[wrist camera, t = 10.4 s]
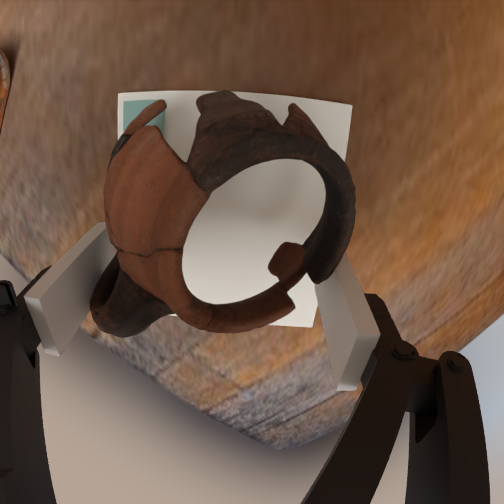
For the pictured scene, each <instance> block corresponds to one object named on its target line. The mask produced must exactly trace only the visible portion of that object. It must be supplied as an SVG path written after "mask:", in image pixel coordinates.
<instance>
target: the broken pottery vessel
mask: <svg viewBox="0 0 504 504" xmlns="http://www.w3.org/2000/svg"><path fill="white" fill-rule="evenodd" d="M196 105H197V108H198V110H199V112H200V114H201V115H200V117H199V119H198V121H197V125H196V132H195V138H194V141H193V144H192V147H191V152H190V154H189V157H188V160H187V162H184V161H183V160H182V159H181V158H180V157H179V156H178V155H177V153H176V152H175V151H174V150H173V149H172V148H171V147H170V145H169V144H168V143H167V141H166V140H165V139H164V137H163V134H162V132H161V130H160V128H159V127H158V126H156V125H152V126H151V125H146V124H147V123H149V122H150V121H151V120H152V119H154V118H155V117H156V116H158V115H159V114H160V113H162V112H163V111H164V110H165V109H166V108H167V104H166V102H165V101H164V100H163V99H159V100H157V101H155V102H153V103H152V104H150V105H149V106H147V107H146V108H144V109H143V110H142V111H141V112H140V113H139V114H138V116H137V117H136V118H135V119H134V120H132V121H131V122H130V123H129V125H128V126H127V128H126V130H125V132H124V133H123V134H122V135H121V136H120V138H119V140H118V141H117V143H116V145H115V147H114V149H113V151H112V155H111V159H110V162H109V166H108V170H107V176H106V181H105V187H104V197H105V199H104V208H105V219H106V227H107V232H108V236H109V240H110V242H111V244H112V245H114V246H115V247H116V248H117V250H118V251H117V253H116V255H115V256H114V257H113V259H112V260H111V261H110V263H109V264H108V266H107V267H106V269H105V270H104V272H103V273H102V275H101V277H100V278H99V281H98V282H97V284H96V287H95V289H94V291H93V294H92V297H91V299H90V310H91V313H92V318H93V320H94V322H95V323H96V324H97V326H98V327H99V329H100V330H101V331H103V332H105V333H109V334H113V335H114V336H117V337H122V338H125V337H129V336H134V335H137V334H139V333H141V332H142V331H144V330H145V329H146V328H148V327H149V326H150V325H151V324H152V323H153V322H154V321H156V320H157V319H159V318H161V317H163V316H166V315H171V314H176V315H177V316H178V317H179V318H181V319H182V320H183V321H184V322H186V323H187V324H189V325H191V326H193V327H195V328H197V329H199V330H206V331H208V332H216V333H239V332H245V331H250V330H252V329H255V328H261V327H263V326H266V325H268V324H271V323H273V322H275V321H277V320H279V319H281V318H283V317H285V316H286V315H288V314H289V313H291V312H292V311H293V310H294V309H295V308H296V307H295V304H294V302H293V300H292V299H291V297H290V296H289V295H288V293H287V292H288V291H289V290H290V289H291V288H292V287H294V286H295V285H296V284H297V283H298V282H299V281H300V280H301V279H302V278H303V276H304V275H305V274H306V273H307V274H308V276H309V277H310V279H311V281H312V282H313V283H314V284H320V283H321V282H323V281H325V280H327V279H328V278H329V277H330V276H331V275H332V274H333V272H334V270H335V268H336V267H337V266H338V264H339V263H340V261H341V259H342V258H343V255H344V252H345V251H346V249H347V247H348V244H349V242H350V238H351V235H352V231H353V229H354V223H355V213H356V210H355V207H354V206H355V202H356V197H355V186H354V184H353V181H352V177H351V175H350V171H349V169H348V167H347V165H346V163H345V162H344V161H343V159H342V158H341V157H340V155H338V154H337V152H336V151H334V150H333V149H331V148H330V147H329V145H328V143H327V141H326V140H325V139H324V137H323V136H322V134H321V133H320V131H319V130H318V128H317V127H316V126H315V124H314V123H313V122H312V120H311V119H310V118H309V116H308V115H307V114H306V113H305V112H304V111H303V110H302V109H301V108H300V107H298V106H297V105H296V104H295V103H291V104H289V106H288V112H289V114H288V117H287V118H286V120H285V122H284V124H283V125H281V124H280V123H279V122H278V120H277V119H276V118H275V116H274V115H273V114H272V112H271V111H269V110H267V109H266V108H264V107H263V106H262V105H261V104H259V103H257V102H254V101H250V100H245V99H241V98H239V97H238V96H237V95H236V94H234V93H233V92H231V91H227V90H222V91H217V92H212V93H207V94H204V95H201V96H200V97H198V98H197V100H196ZM145 125H146V126H145ZM278 159H295V160H303V161H304V162H306V163H308V164H310V165H311V166H313V167H314V168H315V169H316V170H317V171H318V173H319V174H320V176H321V178H322V179H323V182H324V185H325V191H326V196H325V204H324V209H323V213H322V216H321V218H320V220H319V222H318V224H317V226H316V227H315V229H314V230H313V231H312V233H311V234H310V236H309V237H308V238H307V239H306V240H305V242H304V244H303V245H301V244H298V243H292V242H284V243H282V244H281V245H280V246H279V248H278V249H277V250H276V252H275V253H274V255H273V257H272V258H271V260H270V262H269V264H268V270H269V272H270V273H271V274H272V275H274V276H276V277H277V278H278V280H279V281H278V282H277V283H275V284H274V285H273V286H271V287H270V288H268V289H267V290H265V291H263V292H261V293H259V294H257V295H255V296H252V297H250V298H247V299H244V300H242V301H237V302H232V303H227V304H212V303H207V302H204V301H202V300H200V299H198V298H197V297H196V296H194V295H193V294H192V293H191V292H190V290H189V289H188V288H187V285H186V283H185V280H184V276H183V271H182V257H183V247H184V244H185V242H186V238H187V236H188V232H189V230H190V228H191V226H192V224H193V222H194V220H195V218H196V217H197V215H198V214H199V212H200V210H201V209H202V208H203V206H204V205H205V204H206V202H207V200H208V199H209V197H210V195H211V193H212V192H213V191H214V190H216V189H217V188H218V187H220V186H221V185H223V184H224V183H225V182H227V181H228V180H229V179H231V178H232V177H234V176H235V175H237V174H238V173H240V172H241V171H243V170H245V169H247V168H249V167H251V166H254V165H257V164H260V163H263V162H268V161H272V160H278Z"/></svg>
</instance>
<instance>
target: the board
mask: <svg viewBox="0 0 504 504" xmlns="http://www.w3.org/2000/svg"><path fill="white" fill-rule="evenodd" d="M212 92H217V91H147V92H129V93H118V140H119V138H120V136H121V135H122V134H123V133H124V132H125V130H126V128H127V126H128V125H129V123H130V122H131V121H132V120H134V119H135V118H136V117H137V116H138V114H139V113H140V112H141V111H142V110H143V109H144V108H146V107H147V106H149V105H150V104H152V103H153V102H155V101H157V100H159V99H163V100H164V101H165V102H166V104H167V108H166V109H165V110H164V111H163V112H162V113H160V114H159V115H158V116H156V117H155V118H154V119H152V120H151V121H150V122H149V123H147V124H146V125H151V126H152V125H156V126H158V127H159V128H160V130H161V132H162V134H163V137H164V139H165V140H166V141H167V143H168V144H169V145H170V147H171V148H172V149H173V150H174V151H175V152H176V153H177V155H178V156H179V157H180V158H181V159H182V160H183V161H184V162H187V160H188V157H189V154H190V152H191V147H192V144H193V141H194V138H195V132H196V125H197V121H198V119H199V117H200V115H201V114H200V112H199V110H198V108H197V105H196V100H197V98H198V97H200V96H201V95H204V94H207V93H212ZM233 93H234V94H236V95H237V96H238V97H239V98H241V99H245V100H250V101H254V102H257V103H259V104H261V105H262V106H263V107H264V108H266V109H267V110H269V111H271V112H272V114H273V115H274V116H275V118H276V119H277V120H278V122H279V123H280V124H281V125H283V124H284V122H285V120H286V118H287V117H288V114H289V112H288V106H289V104H291V103H295V104H296V105H297V106H298V107H300V108H301V109H302V110H303V111H304V112H305V113H306V114H307V115H308V116H309V118H310V119H311V120H312V122H313V123H314V124H315V126H316V127H317V128H318V130H319V131H320V133H321V134H322V136H323V137H324V139H325V140H326V141H327V143H328V145H329V147H330V148H331V149H333V150H334V151H336V152H337V154H338V155H340V157H341V158H342V159H343V161H344V162H345V158H346V151H347V144H348V137H349V129H350V121H351V113H352V105H347V104H342V103H336V102H329V101H323V100H316V99H309V98H301V97H292V96H283V95H273V94H261V93H248V92H233ZM146 125H145V126H146ZM325 196H326V191H325V185H324V182H323V179H322V178H321V176H320V174H319V173H318V171H317V170H316V169H315V168H314V167H313V166H311V165H310V164H308V163H306V162H304V161H303V160H295V159H278V160H272V161H268V162H263V163H260V164H257V165H254V166H251V167H249V168H247V169H245V170H243V171H241V172H240V173H238V174H237V175H235V176H234V177H232V178H231V179H229V180H228V181H227V182H225V183H224V184H223V185H221V186H220V187H218V188H217V189H216V190H214V191H213V192H212V193H211V195H210V197H209V199H208V200H207V202H206V204H205V205H204V206H203V208H202V209H201V210H200V212H199V214H198V215H197V217H196V218H195V220H194V222H193V224H192V226H191V228H190V230H189V232H188V236H187V238H186V242H185V244H184V247H183V257H182V271H183V276H184V280H185V283H186V285H187V288H188V289H189V290H190V292H191V293H192V294H193V295H194V296H196V297H197V298H198V299H200V300H202V301H204V302H207V303H212V304H227V303H232V302H237V301H242V300H244V299H247V298H250V297H252V296H255V295H257V294H259V293H261V292H263V291H265V290H267V289H268V288H270V287H271V286H273V285H274V284H275V283H277V282H278V281H279V280H278V278H277V277H276V276H274V275H272V274H271V273H270V272H269V270H268V264H269V262H270V260H271V258H272V257H273V255H274V253H275V252H276V250H277V249H278V248H279V246H280V245H281V244H282V243H284V242H292V243H298V244H301V245H303V244H304V242H305V240H306V239H307V238H308V237H309V236H310V234H311V233H312V231H313V230H314V229H315V227H316V226H317V224H318V222H319V220H320V218H321V216H322V213H323V209H324V204H325ZM314 287H315V284H314V283H313V282H312V281H311V279H310V277H309V276H308V274H307V273H306V274H305V275H304V276H303V278H302V279H301V280H300V281H299V282H298V283H297V284H296V285H295V286H294V287H292V288H291V289H290V290H289V291H288V292H287V293H288V295H289V296H290V297H291V299H292V300H293V302H294V304H295V307H296V308H295V309H294V310H293V311H292V312H291V313H289V314H288V315H286V316H285V317H283V318H281V319H279V320H277V321H275V322H273V323H271V324H268V325H280V326H296V327H312V326H313V321H314V317H315V313H316V309H317V305H318V302H317V297H316V293H315V289H314ZM171 315H172V316H177V315H176V314H171Z"/></svg>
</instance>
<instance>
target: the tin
mask: <svg viewBox="0 0 504 504" xmlns="http://www.w3.org/2000/svg"><path fill="white" fill-rule="evenodd" d="M9 88H10V67H9V63H8V60H7V57H6V55H5V54H4V52H3V51H2V50H1V49H0V131H1V126H2V121H3V116H4V111H5V107H6V102H7V98H8V94H9Z"/></svg>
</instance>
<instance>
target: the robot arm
mask: <svg viewBox="0 0 504 504" xmlns="http://www.w3.org/2000/svg"><path fill="white" fill-rule="evenodd" d="M114 256H115V248H114V245H112V244H111V242H110V240H109V236H108V232H107V227H106V222H98V223H97V224H95V225H94V226H93V227H92V228H91V229H90V230H89V231H88V232H87V233H86V234H85V235H84V236H82V237H81V238H80V239H79V240H78V241H77V242H76V243H75V244H74V245H73V246H72V247H71V248H70V249H69V250H68V251H67V252H66V253H65V254H64V255H63V256H62V257H61V258H60V259H59V260H58V261H57V262H56V263H55V264H54V265H53V266H49V267H47V268H45V269H44V270H42V271H41V272H40V273H39V274H38V275H37V276H36V277H35V279H33V280H32V281H31V282H30V284H28V285H27V286H26V287H25V288H24V290H23V291H22V292H21V293H20V294H19V295H18V296H17V297H16V294H15V291H14V288H13V285H12V283H11V282H10V281H6V280H2V281H0V504H57V503H56V499H55V494H54V490H53V486H52V481H51V475H50V470H49V464H48V458H47V452H46V445H45V437H44V429H43V419H42V408H41V394H40V366H39V353H38V351H37V347H38V345H39V344H40V342H41V343H42V346H43V348H44V351H45V353H48V354H52V355H55V356H59V357H61V355H62V353H63V352H64V350H65V348H66V347H67V345H68V344H69V342H70V340H71V339H72V337H73V336H74V334H75V332H76V331H77V329H78V328H79V326H80V325H81V323H82V322H83V320H84V319H85V317H86V315H87V314H88V312H89V311H90V299H91V297H92V294H93V291H94V289H95V287H96V284H97V282H98V281H99V278H100V277H101V275H102V273H103V272H104V270H105V269H106V267H107V266H108V264H109V263H110V261H111V260H112V259H113V257H114ZM314 289H315V293H316V297H317V302H318V306H319V311H320V315H321V320H322V324H323V329H324V334H325V339H326V343H327V348H328V353H329V358H330V363H331V368H332V373H333V378H334V384H335V389H336V391H347V390H356V389H357V387H358V385H359V383H360V381H361V382H362V386H363V391H362V393H361V395H360V397H359V399H358V401H357V403H356V404H355V406H354V409H353V412H352V414H351V416H350V418H349V420H348V422H347V424H346V426H345V428H344V430H343V431H342V433H341V435H340V437H339V439H338V441H337V443H336V445H335V447H334V448H333V451H332V452H331V454H330V456H329V457H328V459H327V461H326V463H325V464H324V466H323V468H322V470H321V471H320V473H319V475H318V476H317V478H316V480H315V481H314V483H313V485H312V486H311V488H310V490H309V491H308V493H307V494H306V496H305V498H304V499H303V501H302V502H301V504H370V502H371V500H372V498H373V496H374V493H375V491H376V489H377V487H378V484H379V482H380V480H381V477H382V475H383V472H384V470H385V467H386V465H387V462H388V460H389V457H390V454H391V452H392V449H393V446H394V443H395V440H396V438H397V435H398V432H399V429H400V426H401V423H402V419H403V416H404V413H405V411H406V412H410V436H409V460H408V477H407V488H406V498H405V504H490V485H489V471H488V461H487V450H486V443H485V435H484V428H483V422H482V416H481V410H480V404H479V400H478V394H477V389H476V385H475V380H474V376H473V372H472V368H471V365H470V363H469V361H468V360H467V359H466V358H465V357H464V356H463V355H461V354H460V353H457V352H454V351H446V352H444V353H442V355H441V356H440V358H439V359H438V360H434V359H429V358H425V357H421V356H419V353H418V352H417V350H416V348H415V347H414V346H413V345H412V344H410V343H408V342H406V341H404V340H402V339H401V337H400V334H399V332H398V330H397V328H396V326H395V324H394V321H393V319H392V318H391V315H390V313H389V312H388V309H387V307H386V305H385V303H384V301H383V300H382V299H381V298H380V297H378V296H377V295H376V294H366V293H363V291H362V289H361V286H360V284H359V282H358V279H357V277H356V275H355V273H354V271H353V268H352V266H351V264H350V262H349V260H348V257H347V255H346V253H345V252H344V255H343V258H342V259H341V261H340V263H339V264H338V266H337V267H336V268H335V270H334V272H333V274H332V275H331V276H330V277H329V278H328V279H327V280H325V281H323V282H321V283H320V284H315V287H314Z"/></svg>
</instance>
